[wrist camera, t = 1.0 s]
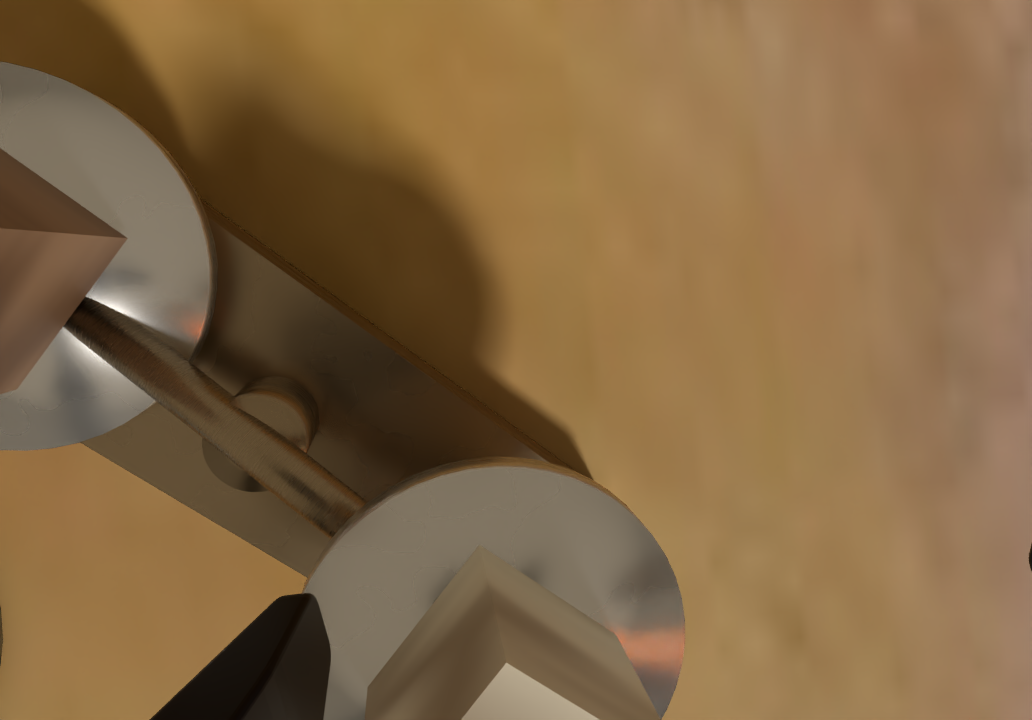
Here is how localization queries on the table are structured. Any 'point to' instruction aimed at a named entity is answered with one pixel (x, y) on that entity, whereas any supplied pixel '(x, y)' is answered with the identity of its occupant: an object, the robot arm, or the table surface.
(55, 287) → the walnut block
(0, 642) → the dish
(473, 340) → the table surface
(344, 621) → the balance
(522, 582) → the balsa cube
